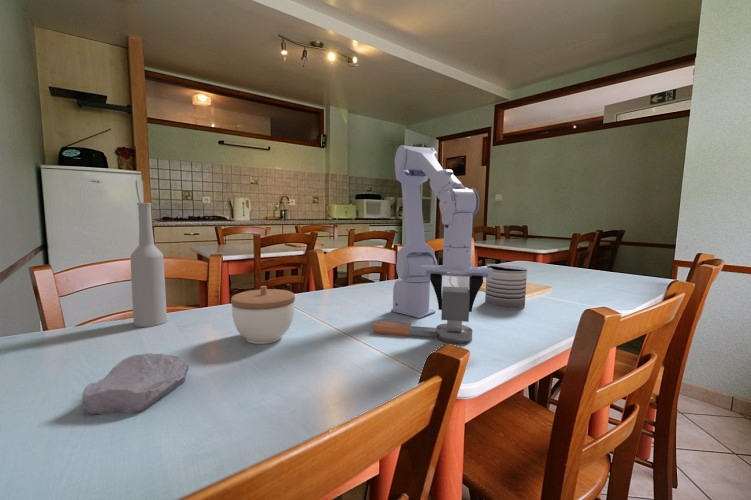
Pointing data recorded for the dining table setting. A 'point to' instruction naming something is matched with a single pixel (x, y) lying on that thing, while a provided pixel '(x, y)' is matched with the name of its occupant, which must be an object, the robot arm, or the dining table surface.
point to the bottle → (147, 275)
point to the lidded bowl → (263, 314)
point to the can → (506, 287)
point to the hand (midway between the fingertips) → (454, 309)
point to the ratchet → (427, 331)
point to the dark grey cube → (455, 304)
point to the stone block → (135, 384)
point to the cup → (461, 281)
